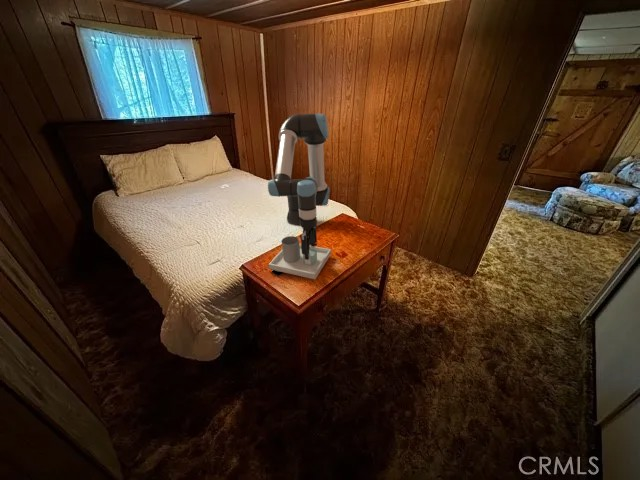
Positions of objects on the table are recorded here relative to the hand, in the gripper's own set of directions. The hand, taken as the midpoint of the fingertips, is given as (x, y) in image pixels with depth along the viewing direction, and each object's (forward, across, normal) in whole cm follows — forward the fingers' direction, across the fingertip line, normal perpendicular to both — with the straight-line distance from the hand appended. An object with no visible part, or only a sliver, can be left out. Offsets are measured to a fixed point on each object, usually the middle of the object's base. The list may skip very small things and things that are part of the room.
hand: (310, 260), depth 122 cm
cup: (+1, 0, -10) cm, 10 cm away
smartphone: (+4, +7, -17) cm, 18 cm away
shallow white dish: (+3, 0, -5) cm, 6 cm away
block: (0, 0, 0) cm, 0 cm away
